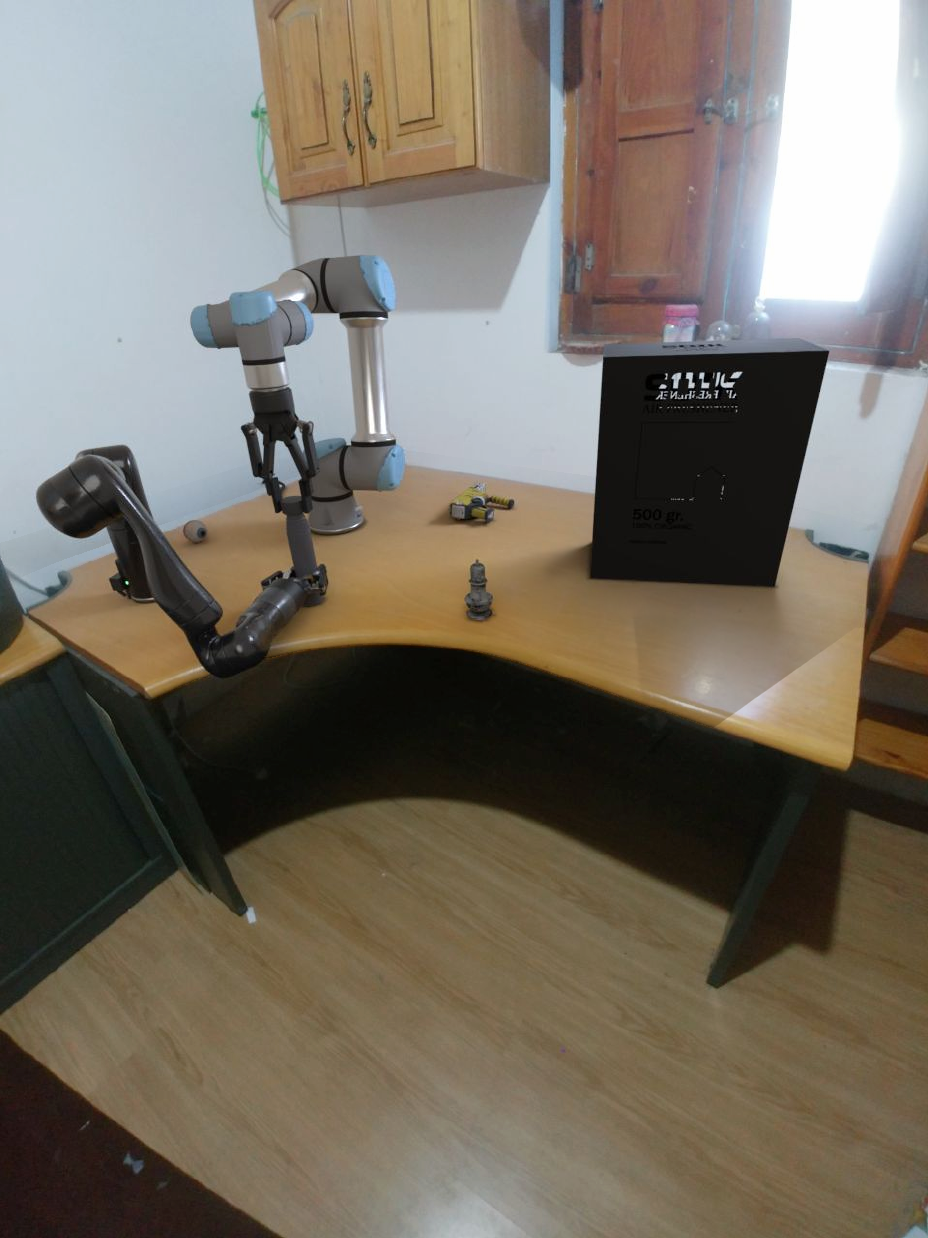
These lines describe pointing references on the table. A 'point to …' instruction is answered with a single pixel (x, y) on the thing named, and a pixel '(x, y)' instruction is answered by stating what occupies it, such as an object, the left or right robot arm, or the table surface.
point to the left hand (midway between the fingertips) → (311, 567)
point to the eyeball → (195, 531)
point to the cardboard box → (701, 458)
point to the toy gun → (476, 504)
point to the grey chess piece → (478, 594)
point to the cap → (292, 505)
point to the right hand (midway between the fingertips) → (294, 510)
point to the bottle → (302, 551)
